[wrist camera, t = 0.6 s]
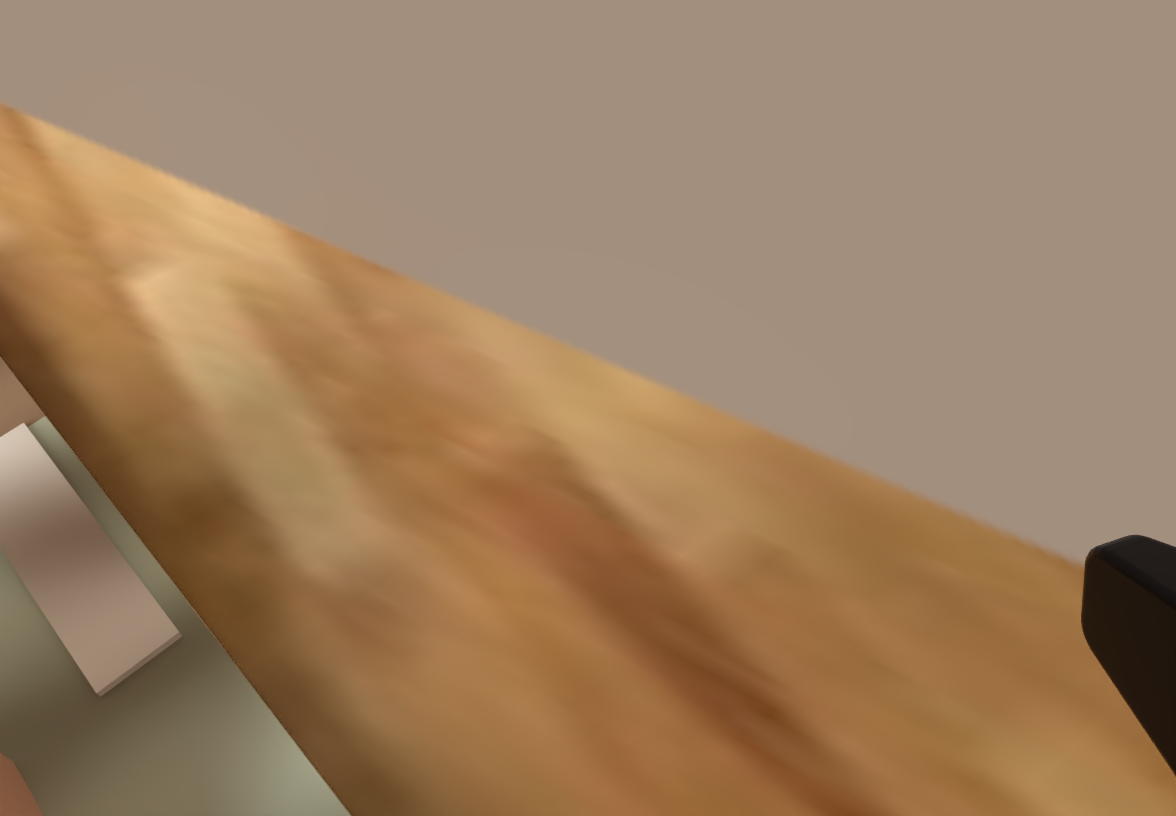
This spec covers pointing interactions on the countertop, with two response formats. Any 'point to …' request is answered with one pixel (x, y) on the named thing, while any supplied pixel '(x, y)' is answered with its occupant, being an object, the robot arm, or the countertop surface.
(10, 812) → the terracotta block
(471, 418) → the countertop surface
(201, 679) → the trap board
